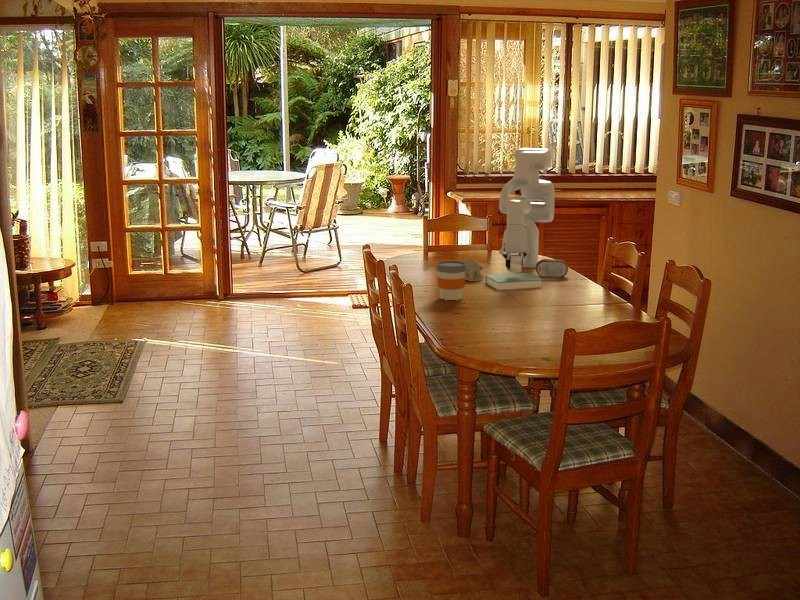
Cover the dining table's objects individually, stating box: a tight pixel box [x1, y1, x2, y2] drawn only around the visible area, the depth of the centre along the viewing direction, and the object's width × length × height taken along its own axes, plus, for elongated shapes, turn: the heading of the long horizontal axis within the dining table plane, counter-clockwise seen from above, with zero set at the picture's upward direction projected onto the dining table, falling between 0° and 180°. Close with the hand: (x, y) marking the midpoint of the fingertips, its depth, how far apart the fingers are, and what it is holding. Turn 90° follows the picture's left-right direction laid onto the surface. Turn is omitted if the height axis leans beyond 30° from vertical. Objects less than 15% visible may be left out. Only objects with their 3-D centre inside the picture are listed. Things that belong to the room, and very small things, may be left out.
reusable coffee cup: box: [436, 260, 466, 301], centre depth 393 cm, size 13×12×15 cm
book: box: [485, 272, 543, 291], centre depth 419 cm, size 15×21×4 cm
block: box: [506, 253, 523, 273], centre depth 417 cm, size 5×5×7 cm
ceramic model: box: [460, 257, 484, 282], centre depth 432 cm, size 14×11×10 cm
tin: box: [535, 258, 569, 278], centre depth 436 cm, size 15×3×8 cm, turn 84°
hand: (514, 267), depth 417 cm, fingers closed on block, 5 cm apart
